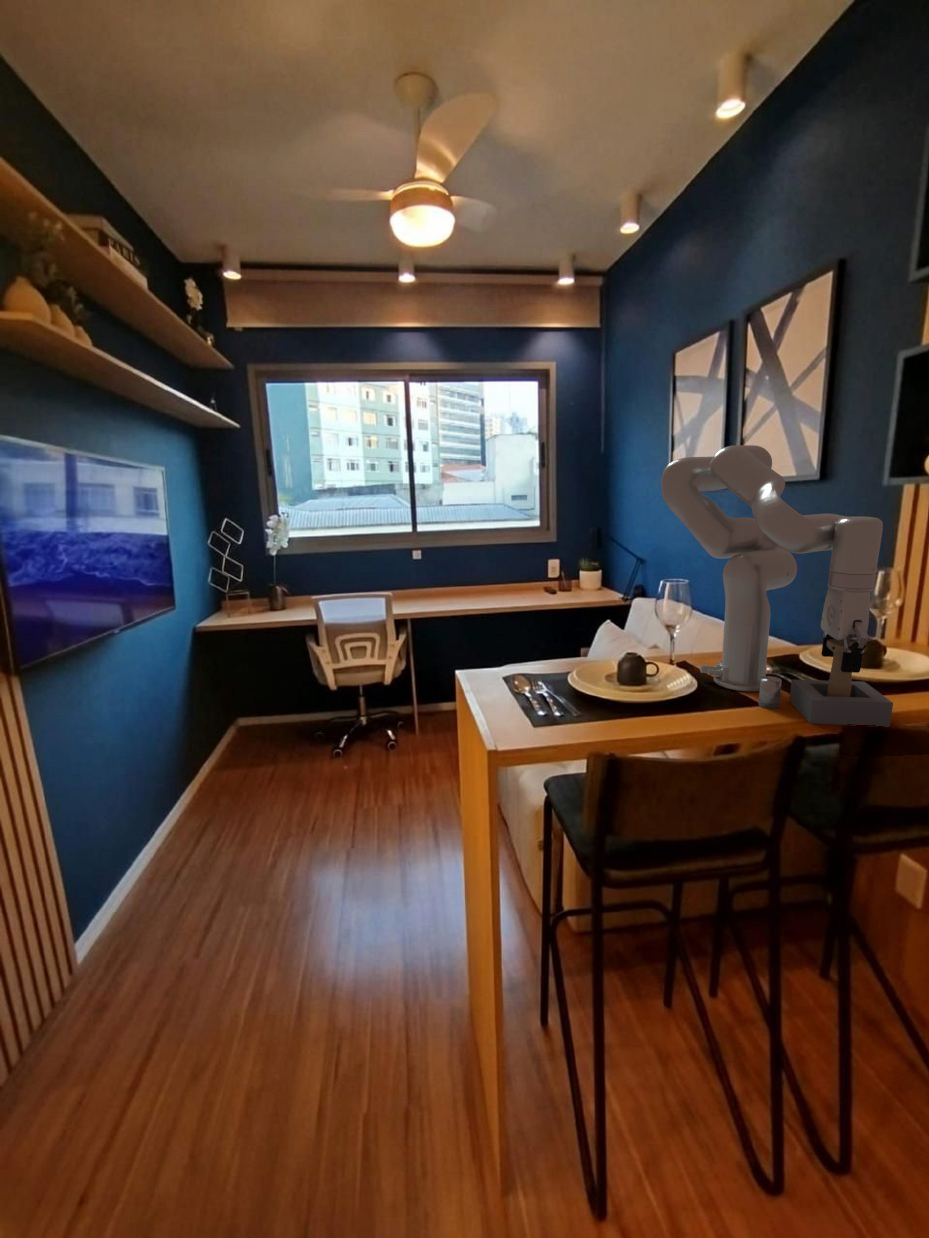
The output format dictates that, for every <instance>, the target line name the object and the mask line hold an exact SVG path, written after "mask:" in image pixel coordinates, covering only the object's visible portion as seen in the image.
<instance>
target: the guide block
mask: <svg viewBox="0 0 929 1238" xmlns="http://www.w3.org/2000/svg"><path fill="white" fill-rule="evenodd" d="M828 683H829V680H820V679H818V680H816V679H815V680H814V679H812V680H811V679H791V681H790V693H789V702H790V704H791V705H793V707H794V708H795V709H796V710H797V712H799V714H800V715H802V717H803V718H804V719H805V720H806V721H807V722H808V723H809V724H811V725H816V724H817V725H834V726H835V725H837V726H848V725H847V724H865V725H876V726H875V727H878V726H884V727H883V728H890V727H891V723H892V722H891V721H892V720H891V719H892V716H893V715H892V714H893V706H894V702H893V701H891V700H890V699H889V698H887V697H886V696H884V695H883V694H882V693H881V692H879V691H878V690H877V689H875V688H874V687H872V686H871V685H870V684H868V683H867V682H866V681H853V680H852V681H851V693H850V697H829V696H827V691H828Z"/></svg>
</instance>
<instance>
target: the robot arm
mask: <svg viewBox="0 0 929 1238" xmlns="http://www.w3.org/2000/svg"><path fill="white" fill-rule="evenodd" d="M660 484H661V485H660V487H661V488H660V489H661V494H662V498H663V500H664V502H665V505H667V507H668V509H669V510H670V511H671V512H672V513H673V514H674V515H675V516H676V517H677V518H678V519H679V520H680V522H681V523H683V525H684V526H685V527H686V528H687V529H688V530H689V532H690V533H691V534H692V536H694V538H695V540H696V541H697V542H698V543H699V544H700V545H701V546H702V548H703V549H704V550H705V552H706V553H707V554H708V555H710V556H711V557H712V558H715V559H721V560H724V559H728V561H727V562H726V563H725V565H724V568H723V569H722V571H723V572H722V582H723V588H724V600H725V601H724V603H725V607H724V624H723V638H722V657H721V660H718V662H717V663H715V664H714V665H709V664H700V668H699V669H700V670H699V671H700V674H701V673H702V674H707V675H708V676H713V682H714V683H715V684H716V685H718V686H721V687H722V688H725V689H728V690H734V691H741V692H759V690H760V678H761V677H763V676H766V673H767V672H766V671H767V660H768V648H769V635H770V626H771V625H770V624H771V606H770V602H769V599H768V596H767V591H770V590H771V591H772V590H776V589H780V588H784V587H786V586H788V585H790V584H791V583H793V581H794V580H795V578H796V576H797V573H798V564H797V561H796V559H795V557H794V556H793V554H799V555H800V554H807V553H814V552H823V551H831V559H830V564H829V565H830V566H829V571H828V572H829V573H828V581H827V588H828V589H827V592H826V595H825V600H824V603H823V610H822V616H821V621H820V629H821V630H822V631H823V635H822V636H823V639H822V647H821V653H820V654H821V656H822V657H825V658H826V657H827V658H828V657H830V658H833V651H831V650H830V649H829V648H828V647H827V640H830V639H836V640H839V641H840V640H842V639H843V640H844V645H845V650H846V652H843V656H842V663H841V671H842V672H852V674H853V673H855V674H858V673H860V672H861V668H862V661H863V656H864V655H863V654H864V653H865V650H866V649H865V648H866V647H867V642H868V640H869V634H868V628H869V619H870V610H871V609H870V608H871V592H872V591H874V588H875V583H876V576H877V569H878V563H879V562H878V561H879V555H880V552H881V551H880V549H881V543H882V536H883V529H884V528H883V527H884V524H883V520H881V519H880V518H878V517H873V516H860V515H859V516H846V515H840V514H835V513H816V514H814V513H812V514H805V515H803V514H801V513H800V512H798V511H796V510H795V509H794V508H792V507H791V506H790V505H789V504H788V503H786V502H785V500H783V499H782V497H781V495H782V493H783V492H784V489H785V487H786V480H785V478H784V477H783V475H781V474H779V473H778V472H777V471H775V470H774V469H773V459H772V455H771V454H770V452H769V451H768V450H767V449H766V448H764V447H762V446H760V445H742V444H741V445H740V444H739V445H728V446H725V447H723V448H721V449H719V450H718V451H717V452H716V453H714V455H713V456H686V457H681V458H676V459H675V460H673V461H670V463H668V464H667V465H666V467H665V468H664V469H663V473H662V475H661V481H660ZM725 489H728V490H729V491H731V492H732V493H733V494H734V495H735V496H737V497H738V498H739V499H740V500H742V501H743V502H744V503H745V504H747V505H748V507H750V508H751V512H752V516H753V518H752V517H746V516H745V517H730V516H729V515H727V514H726V513H725V512H724V511H723V510H722V509H721V508H720V507H719V505H718V504H716V502H715V501H713V500H712V499H711V498H709V497H708V496H706V495H704V494H703V493H701V492H711V491H712V492H713V491H719V490H720V491H721V490H725ZM850 642H854V643H853V644H852V645H850Z"/></svg>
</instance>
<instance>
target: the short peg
mask: <svg viewBox="0 0 929 1238" xmlns="http://www.w3.org/2000/svg"><path fill="white" fill-rule="evenodd" d="M781 693H782V679H781V678H779V677H777V676H771V675H770V676H769V675H768V676H767V675H765V676H763V677H761V678H760V690H759V691H758V701H757V702H758V706H759V707H760V708H763V709H768V710H778V709H779V708H780V704H781V703H780V702H781Z"/></svg>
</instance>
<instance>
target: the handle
mask: <svg viewBox="0 0 929 1238" xmlns="http://www.w3.org/2000/svg"><path fill="white" fill-rule="evenodd" d="M853 643H854V642H850V645H852V644H853ZM827 647H828V648H829V649H830V650H831V651H833V657H832V662H831V668H830V673H829V679H828V681H829V683H828V691H827V696H829V697H850V693H851V681H853V680H852V679H853V678H852V676H853V675H852V674H853V673H852V672H842V671H841V663H842V656H843V652H846V650H845V645H844V640H843V639H842V640H840V641H839V640H836V639H830V640H827Z"/></svg>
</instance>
